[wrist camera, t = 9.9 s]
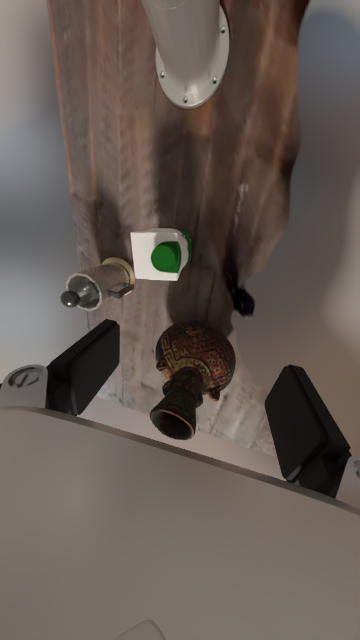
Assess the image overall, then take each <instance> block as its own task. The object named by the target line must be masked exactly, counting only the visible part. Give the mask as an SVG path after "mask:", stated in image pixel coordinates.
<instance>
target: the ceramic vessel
mask: <svg viewBox="0 0 360 640" xmlns="http://www.w3.org/2000/svg"><path fill="white" fill-rule="evenodd" d="M156 362H157V365H156V368H157V370H159V371H161V373H162V374H163V375H164V377H165V378H166V379H167V380H168V382H166V383H165V384H164V386H163V387H162V388H163V393H164V395H165V397H164V398H163V399H162V400H161V401H160V403H159V404H158V405H156V406H155V407H154V408H153V409H152V410H151V412H150V419H151V421H152V423H153V424H154V425H155V427H157V428H158V430H159V431H160V432H161V433H162V434H164V435H166V436H168V437H170V438H173V439H177V440H188V439H191V438H192V437H193V436H194V434H195V430H196V408H197V407H199V406H200V405H201V404H202V403H203V397H202V395H209V397H210V398H211V399H212V400H213V401H218V400H219V397H220V391H221V390H223V389H224V388H225V387H226V386H227V385H228V384H229V383H230V381H231V379H232V377H233V374H234V370H235V353H234V350H233V347H232V345H231V343H230V342H229V340H228V339H227V338H226V337H225V336H224V335H223V334H222V333H221V332H220V331H219V330H217V329H216V328H214V327H212V326H210V325H208V324H206V323H203V322H198V321H182V322H179V323H176V324H174V325H172V326H170V327H169V328H168V329H166V330H165V331H164V332H163V334H162V335H161V336H160V338H159V340H158V342H157V345H156Z"/></svg>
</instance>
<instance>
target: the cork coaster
mask: <svg viewBox="0 0 360 640" xmlns="http://www.w3.org/2000/svg"><path fill="white" fill-rule="evenodd" d="M113 262H115V263H119V264H121V265H123V266H124V267H125V268H126V269H127V270H128V272H129V274H130V279H131V281H130V284H134V286H135V274H134V271H133V269H132V268H131V266H130V265H129V264H128V263H127V262H126V261H124V260H123V259H120V258H116V257H112V258H108V259H106V260H105V261H103V263H102V264H101V265H104V264H108V263H113ZM131 291H132V290H131ZM131 291H130V292H131ZM130 292H128V293H130ZM128 293H127V294H128ZM127 294H125V295H127Z"/></svg>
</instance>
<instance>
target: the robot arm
mask: <svg viewBox="0 0 360 640" xmlns="http://www.w3.org/2000/svg"><path fill="white" fill-rule="evenodd" d="M141 2H142V5H143V7H144V10H145V13H146V16H147V19H148V22H149V25H150V28H151V31H152V33H153V36H154V39H155V42H156V68H157V74H158V78H159V81H160V84H161V87H162V89H163V91H164V93H165V95H166V96H167V97H168V99H169V100H170V101H171V102H172V103H173V104H175V105H176V106H178V107H180V108H185V109H192V108H196V107H199V106H201V105H202V104H204V103H205V102H206V101H208V100H209V99H210V98H211V97H212V95H213V94H214V93H215V91H216V90H217V88H218V87H219V85H220V83H221V81H222V78H223V76H224V73H225V70H226V66H227V62H228V54H229V28H228V24H227V19H226V16H225V14H224V11H223V9H222V7H221V6H220V4H219V0H141ZM222 33H223V34H222ZM163 77H164V78H163ZM162 78H163V79H162ZM214 82H216V84H214ZM186 101H187V103H185V102H186ZM119 353H120V326H119V324H117V322H116V321H113V320H109V319H106V320H104V321H103V322H102V323H100V324H99V325H98V326H96V327H95V328H94V329H93V330H91V331H90V332H89V333H88V334H86V335H85V336H84V337H82V338H81V339H80V340H79V341H77V342H76V343H75V344H73V345H72V346H71V347H70V348H68V349H67V350H66V351H65V352H63V353H62V354H61V355H59V356H58V357H57V358H56V359H54V360H53V361H52V362H51V363H50V364H49V365H48V366H47V367H44V366H42V365H27V366H24V367H20V368H18V369H16V370H14V371H12V372H11V373H9V374H8V375H7V376H6V377H5V379H4V381H3V383H2V384H0V640H360V456H352V455H351V453H350V452H349V449H350V446H349V444H348V443H347V441H346V439H345V438H344V436H343V434H342V432H341V431H340V429H339V427H338V426H337V424H336V422H335V421H334V419H333V417H332V416H331V414H330V412H329V411H328V409H327V407H326V406H325V404H324V402H323V401H322V399H321V397H320V396H319V394H318V392H317V391H316V389H315V387H314V386H313V384H312V382H311V381H310V379H309V377H308V375H307V374H306V372H305V371H304V369H303V368H302V367H298V366H294V365H289V366H285V367H284V368H283V370H282V372H281V373H280V375H279V377H278V379H277V380H276V382H275V384H274V386H273V388H272V390H271V391H270V393H269V395H268V396H267V398H266V400H265V409H266V413H267V417H268V421H269V425H270V429H271V433H272V437H273V441H274V445H275V449H276V453H277V457H278V461H279V465H280V469H281V473H282V476H283V477H284V478H285V479H286V480H287V482H286V481H283V480H280V479H277V478H274V477H271V476H268V475H265V474H261V473H258V472H255V471H252V470H249V469H246V468H242V467H239V466H236V465H233V464H230V463H227V462H223V461H220V460H217V459H214V458H211V457H208V456H204V455H201V454H198V453H195V452H191V451H188V450H185V449H182V448H179V447H175V446H172V445H169V444H165V443H162V442H159V441H156V440H153V439H150V438H146V437H143V436H140V435H136V434H133V433H130V432H126V431H123V430H120V429H117V428H113V427H110V426H107V425H104V424H100V423H97V422H94V421H90V420H87V419H83V418H79V417H76V416H77V415H80V414H81V413H82V412H83V411H84V410H85V408H86V407H87V406H88V404H89V403H90V402H91V400H92V399H93V398H94V396H95V395H96V394H97V392H98V391H99V390H100V388H101V387H102V386H103V385H104V383H105V382H106V381H107V379H108V378H109V377H110V375H111V374H112V373H113V371H114V370H115V369H116V367H117V366H118V364H119Z"/></svg>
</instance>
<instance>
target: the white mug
mask: <svg viewBox="0 0 360 640" xmlns="http://www.w3.org/2000/svg"><path fill="white" fill-rule="evenodd" d="M130 281H131V279H130V274H129V272H128V270H127V269H126V268H125V267H124V266H123V265H121V264H119V263H115V262H113V263H108V264H104V265H101V266H98V267H94V268H91V269H88V270H84V271H81V272H78V273H75V274H73V275H71V276H69V278H68V280H67V282H66V289H67V291H68V290H72V291H75V292H77V293H79V292H81V291H84V290H86V289H88V288H90V287H93V286H95V285H96V287H97V289H96V290H94V291H92V292H90V293H87V294H85V295H83V296H81V297H80V303H79V304H78V305H77V306H78V307H79V308H80V309H83V310H87V311H92V310H95V309H98V308H99V307H101V306H102V305H104V304H106V303H107V302H109V301H110V300H112V299H113V298H115V297H116V298H121V297H122V296H124V295H125V294H127V293H128V292H130V291H131V290H133V289H134V284H130Z"/></svg>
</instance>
